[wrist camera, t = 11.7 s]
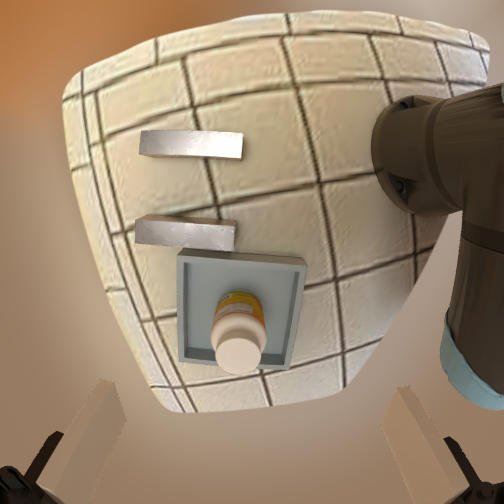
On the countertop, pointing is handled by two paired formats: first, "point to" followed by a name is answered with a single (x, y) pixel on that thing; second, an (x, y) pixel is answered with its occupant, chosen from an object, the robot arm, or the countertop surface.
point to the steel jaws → (188, 228)
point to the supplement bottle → (238, 332)
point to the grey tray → (238, 278)
